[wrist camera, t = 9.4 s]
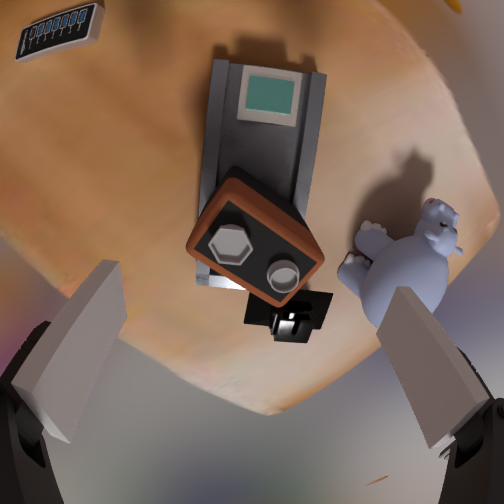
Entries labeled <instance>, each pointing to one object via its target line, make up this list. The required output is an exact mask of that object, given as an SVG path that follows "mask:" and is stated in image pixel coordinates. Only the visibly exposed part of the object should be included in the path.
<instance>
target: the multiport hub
mask: <svg viewBox="0 0 504 504" xmlns="http://www.w3.org/2000/svg"><path fill="white" fill-rule="evenodd" d="M104 13H105V9H104V8H103V7H101V6H100V5H98V4H97V3H92V4H88V5H84V6H81V7H78V8H74V9H71V10H68V11H65V12H62V13H59V14H57V15H54V16H51V17H48V18H46V19H43V20H41V21H38V22H36V23H34V24H31V25H29V26H27V27H25V28H23V30H22V31H21V35H20V39H19V43H18V47H17V51H16V56H15V61H16V62H25V63H27V62H29V61H32V60H35V59H38V58H41V57H44V56H48V55H51V54H54V53H58V52H61V51H65V50H69V49H73V48H77V47H82V46H86V45H91V44H95V43H96V42H97V41H98V38H99V34H100V29H101V25H102V21H103V17H104Z"/></svg>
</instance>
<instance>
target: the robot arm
mask: <svg viewBox="0 0 504 504" xmlns="http://www.w3.org/2000/svg"><path fill="white" fill-rule="evenodd" d="M126 318H127V312H126V306H125V299H124V293H123V286H122V279H121V271H120V262H119V261H112V260H104V259H103V260H102V261H101V262H100V263H99V265H98V266H97V267H96V268H95V269H94V270H93V271H92V273H91V274H90V275H89V276H88V277H87V278H86V280H85V281H84V282H83V283H82V284H81V286H80V287H79V288H78V289H77V291H76V292H75V293H74V294H73V295H72V297H71V298H70V299H69V300H68V302H67V303H66V304H65V306H64V307H63V308H62V309H61V311H60V312H59V313H58V315H57V316H56V317H55V319H54V320H53V321H52V322H48V321H44V322H43V323H41V324H40V325H39V326H37V327H36V328H34V329H33V331H32V332H31V333H30V335H29V336H28V338H27V341H25V342H24V343H23V345H22V346H21V349H19V350H18V352H17V353H16V354H15V356H14V357H13V359H12V360H11V362H10V363H9V365H8V366H7V368H6V369H5V371H4V373H3V374H2V376H1V377H0V504H64V502H63V499H62V497H61V494H60V491H59V488H58V486H57V482H56V479H55V477H54V473H53V470H52V467H51V463H50V459H49V456H48V452H47V448H46V444H45V440H44V438H43V436H42V434H41V433H42V431H43V428H45V429H46V430H47V431H48V432H49V433H50V435H51V436H53V437H55V438H58V439H60V440H62V441H65V442H67V443H70V444H71V442H72V440H73V437H74V434H75V432H76V429H77V426H78V424H79V421H80V419H81V416H82V414H83V411H84V409H85V406H86V404H87V401H88V399H89V396H90V394H91V391H92V389H93V387H94V385H95V382H96V380H97V378H98V375H99V373H100V371H101V369H102V367H103V365H104V362H105V360H106V358H107V356H108V354H109V352H110V350H111V348H112V346H113V344H114V342H115V339H116V337H117V335H118V333H119V331H120V329H121V327H122V325H123V323H124V321H125V320H126ZM376 335H377V337H378V339H379V341H380V342H381V344H382V346H383V348H384V350H385V352H386V354H387V356H388V358H389V360H390V362H391V364H392V366H393V368H394V370H395V372H396V374H397V376H398V379H399V381H400V383H401V385H402V387H403V389H404V391H405V393H406V396H407V398H408V400H409V402H410V405H411V407H412V409H413V411H414V414H415V416H416V418H417V420H418V423H419V425H420V428H421V430H422V432H423V435H424V437H425V440H426V442H427V445H428V447H429V449H432V448H434V447H437V446H440V445H442V444H444V443H445V442H447V441H448V440H449V439H450V438H451V437H452V436H453V435H454V437H455V439H456V440H455V441H454V442H452V443H451V444H450V445H449V446H448V447H447V448H445V449H444V450H443V451H442V452H441V453H440V456H439V458H442V457H443V456H444V455H445V454H447V453H448V452H449V451H450V453H449V454H447V455H446V456H445V458H444V459H446V460H448V465H447V470H446V475H445V479H444V484H443V488H442V492H441V495H440V499H439V503H438V504H504V399H503V398H497V399H494V398H493V396H492V394H491V393H490V391H489V390H488V388H487V386H486V385H485V383H484V382H483V380H482V378H481V377H480V375H479V374H478V372H476V369H475V368H474V366H473V365H471V362H470V360H469V359H468V357H467V356H466V355H465V354H464V353H463V352H462V351H461V350H460V349H459V348H458V347H456V346H455V344H454V343H453V341H452V340H451V339H450V337H449V336H448V335H447V333H446V332H445V330H444V329H443V328H442V326H441V325H440V324H439V322H438V321H437V320H436V319H435V317H434V316H433V315H432V313H431V312H430V311H429V310H428V308H427V307H426V306H425V305H424V303H423V302H422V301H421V300H420V298H419V297H418V296H417V295H416V293H415V292H414V291H413V290H412V289H411V287H408V286H397V287H396V289H395V292H394V294H393V297H392V299H391V301H390V304H389V306H388V308H387V311H386V313H385V315H384V318H383V320H382V322H381V324H380V327H379V329H378V331H377V333H376Z"/></svg>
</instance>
